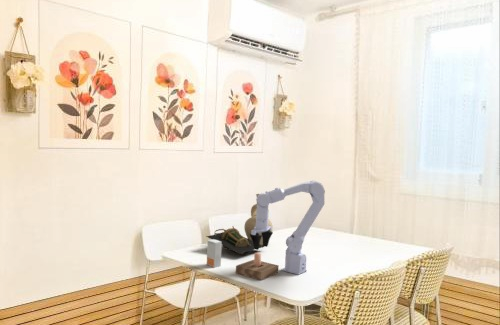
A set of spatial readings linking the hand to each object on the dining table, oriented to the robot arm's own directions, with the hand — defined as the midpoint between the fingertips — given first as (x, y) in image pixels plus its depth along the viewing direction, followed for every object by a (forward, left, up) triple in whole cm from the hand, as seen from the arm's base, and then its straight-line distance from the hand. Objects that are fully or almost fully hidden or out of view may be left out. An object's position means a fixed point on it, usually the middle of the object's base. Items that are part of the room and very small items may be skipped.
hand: (260, 247), depth 187 cm
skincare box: (+20, +10, -11) cm, 25 cm away
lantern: (+32, -18, -11) cm, 38 cm away
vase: (+29, -40, -11) cm, 50 cm away
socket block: (-2, +5, -10) cm, 12 cm away
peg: (-2, +5, -10) cm, 12 cm away
